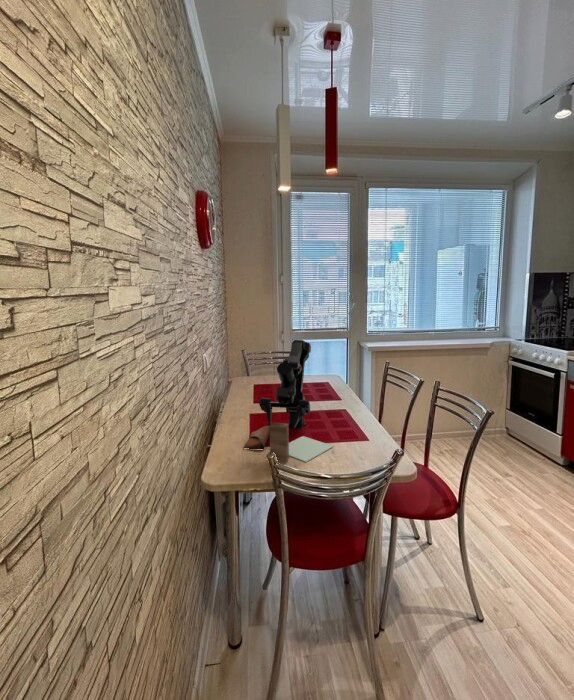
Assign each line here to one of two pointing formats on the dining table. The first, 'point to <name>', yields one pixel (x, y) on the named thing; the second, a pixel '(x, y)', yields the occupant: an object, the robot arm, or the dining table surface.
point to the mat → (307, 448)
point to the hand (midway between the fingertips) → (281, 426)
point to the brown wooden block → (280, 441)
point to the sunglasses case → (258, 438)
